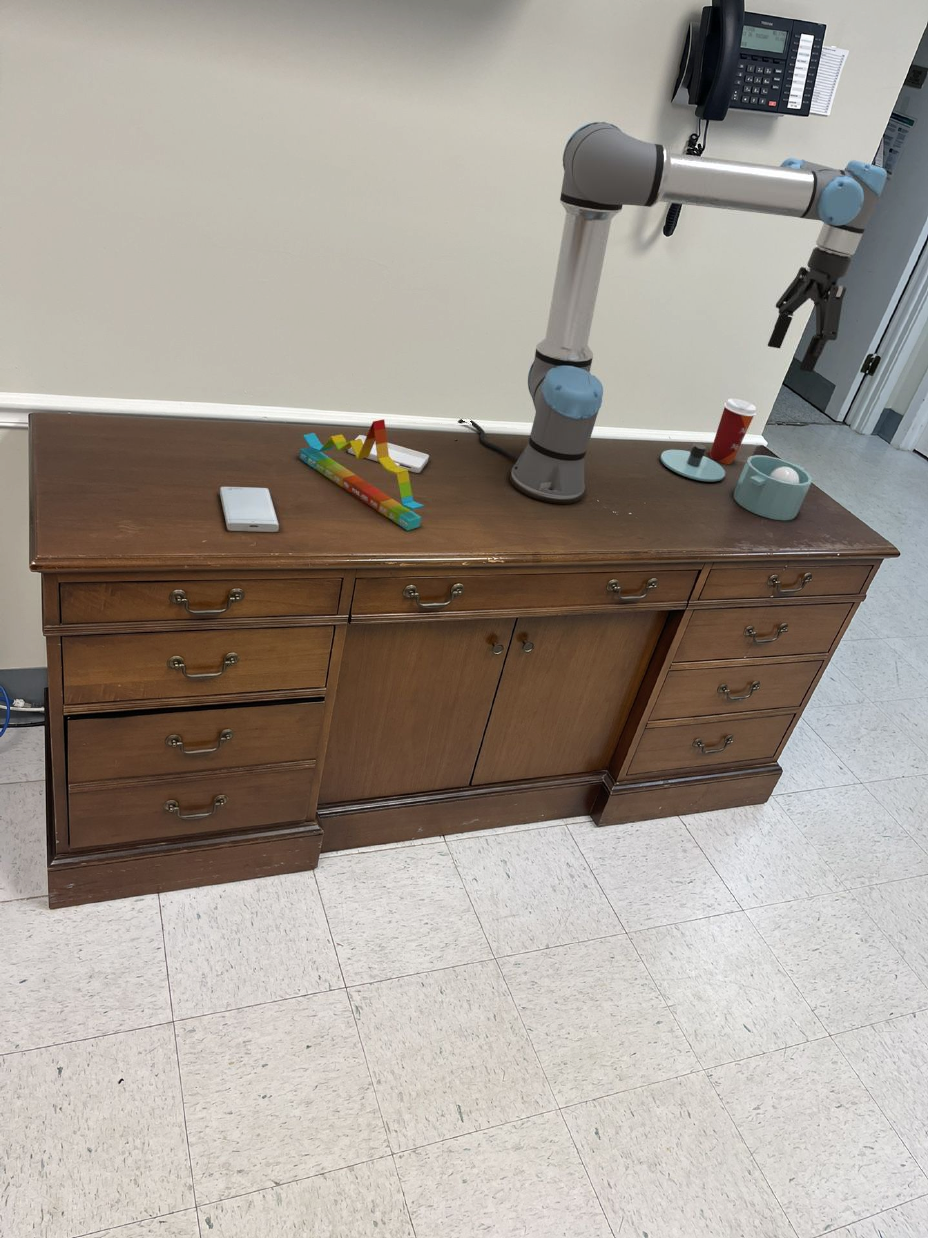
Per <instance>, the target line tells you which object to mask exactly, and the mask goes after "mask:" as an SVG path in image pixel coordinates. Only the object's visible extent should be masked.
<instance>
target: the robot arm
mask: <svg viewBox="0 0 928 1238" xmlns="http://www.w3.org/2000/svg"><path fill="white" fill-rule="evenodd" d="M562 167H563V172H564V173H563V178H562V185H561V191H560V197H559V203H560V204H561V205H562V207H563V209H564V210H565V216H564V217H565V218H564V224H563V230H562V234H561V242H560V249H559V252H558V253H559V254H558V260H557V264H556V265H557V266H556V272H555V278H554V283H553V290H552V294H551V295H552V296H551V302H550V308H549V313H548V320H547V324H546V325H547V326H546V333H545V337H544V339H542V340H541V341H539V342H538V343H537V344H536V347H535V353H534V359H533V361H532V363H531V365H530V368H529V370H528V374H527V388H528V392H529V394H530V397H531V400H532V402H533V407H534V410H535V414H534V419H533V422H532V426H531V430H530V434H529V437H528V442H527V445H526V447H525V448H524V449H523V451H522V452H521V454H520V455H519V456H517V455H516V454H514V453H512V452H511V451H509V450H507V449H505V448H503V447H501V446H498V445H497V444H494V443H493V442H490V441H488V440H487V439H486V438H485V436H486V432H485V429H483V428H482V427H481V426H480V425H479V424H478V423H477V422H476V421H474V420H472V419H470V420H471V421H470V422H471V423H472V425H471V424H469V425H470V426H472V427H473V428H474V429H475V430H476V431H477V432H478V433H480V435H479V440H480V442H481V443H482V444H483V445H484V446H486V447H488V448H490V449H493V450H495V451H496V452H497V451H498V452H499V453H501V454H503V455H504V456H507V457H508V458H510V459H512V460H513V461H515V463H514V465H513V466H512V468H511V472H510V476H509V481H510V483H511V485H512V486H513V487H514V488H515V489H516V490H518V491H519V492H520V493H522V494H524V495H526V496H527V497H530V498H532V499H534V500H538V501H540V502H544V503H549V504H558V505H568V504H574V503H577V502H579V501H581V499H582V498H583V496H584V494H585V490H586V484H585V483H586V482H585V457H586V453H587V450H588V448H589V444H590V441H591V438H592V435H593V430H594V428H595V424H596V421H597V417H598V414H599V411H600V409H601V407H602V403H603V396H604V386H603V383H602V382H601V381H600V379H599V378H598V377H597V376H596V375H594V374H592V373H591V370H592V369H591V368H592V363H593V358H594V353H593V351H592V350H591V348H590V347H589V345H588V344H589V338H590V334H591V328H592V324H593V318H594V312H595V307H596V302H597V297H598V292H599V287H600V281H601V276H602V270H603V266H604V260H605V254H606V249H607V245H608V241H609V240H608V239H609V233H610V231H611V230H610V229H611V225H612V220H613V218H614V217H615V216H617V215H618V214H620V213H621V211H622V210H623V206H624V205H625V206H637V207H648V208H653V207H655V206H656V205H657V204H658V203H659V202H662V203H671V204H679V205H687V206H688V205H689V206H697V207H704V208H713V209H721V210H722V209H723V210H730V211H739V212H748V213H755V214H756V213H757V214H765V215H773V216H782V217H791V218H798V219H804V220H813V221H819V222H822V223H823V224H822V227H821V229H820V231H819V234H818V236H817V238H816V240H815V244H816V245H817V246H816V247H814V248H813V249H812V252H811V254H810V257H809V259H808V261H807V264H806V266H807V267H805V266H801V267H800V268H799V269H798V272H797V274H796V276H795V277H794V279H793V280H792V281H791V283H790V284H789V285H788V287H787V288H786V289H785V291H784V292H783V293H782V295H781V296H780V298H779V299H778V300H777V302H776V304H775V308H776V309H778V317H777V319H776V322H775V324H774V328H773V331H772V333H771V336H770V338H769V340H768V342H767V345H766V346H767V347H769V348H774V349H781V347H782V345H783V342H784V341H785V337H786V335H787V334H788V333H787V332H788V330H789V328H790V325H791V323H792V320H793V317H794V313H795V312H796V311H797V310H798V309H799V308H800V307H801V306H802V305H804V304H805V303H806V302H807V301H809V299H810V300H811V301H812V302H813V305H814V306H815V334H814V335H813V336H812V337H811V339H810V342H809V344H808V346H807V348H806V352H805V354H804V355H803V358H802V360H801V363H800V365H799V367H798V369H799V370H800V371H804V372H809V373H810V372H811V373H813V372H814V370H815V367H816V365H817V363H818V360H819V358H820V357H821V356H822V353H823V351H824V349H825V346H826V344H827V342H828V341H836V340H837V338H838V332H839V325H840V319H841V313H842V308H843V307H842V306H843V301H844V297H845V294H846V292H847V286H842V285H838V281H839V279H840V278H844V277H845V276H847V272H848V271H849V268H850V267H851V263H852V261H853V259H852V257H851V256H853V255H855V253H856V251H857V249H858V246H859V245H860V241H861V239H862V237H863V234H865V233H864V232H865V230H866V228H867V225H868V223H869V221H870V219H871V217H872V214H873V212H874V210H875V208H876V205H877V203H878V201H879V199H880V198H881V194H882V192H883V189H884V186H885V184H886V180H887V177H888V172H887V170H886V169H885V168H883V167H881V166H877V165H875V164H870V163H867V162H863V161H858V160H854V159H853V160H852V159H851V160H850V161H849V162H848V163H847V165H846V167H845V168H844V169H840V168H839V169H837V168H832V167H830V166H826V165H822V164H818V163H814V162H811V161H807V160H805V159H797V158H792V157H790V158H787V159H785V160H784V161H782V162H781V164H780V165H778V166H777V165H770V164H762V163H754V162H746V161H739V160H731V159H730V160H729V159H722V158H714V157H707V156H699V155H692V154H684V153H676V152H669V151H668V149H667V148H666V146H665V145H664V144H660V143H659V144H658V143H651V142H647V141H643V140H641V139H637V138H635V137H633V136H631V135H629V134H627V133H625V132H624V131H622V130H621V129H620V128H619V127H618V126H617V125H614V124H613V123H608V122H605V121H593V122H588V123H586V124H584V125H582V126H580V127H579V128H577V129H576V130H575V131H574V132H573V133H572V134H571V135H570V137H569V139H568V140H567V142H566V144H565V146H564V150H563V155H562ZM462 419H463V418H460V419H459V420H458V421H457V424H459V425H460V424H461V425H462V424H465V423H466V424H468V423H467V422H465V421H463V420H462Z"/></svg>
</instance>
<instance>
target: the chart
mask: <svg viewBox="0 0 928 1238" xmlns="http://www.w3.org/2000/svg"><path fill="white" fill-rule="evenodd" d="M366 436H367V437H366V439H365V442H364V444H363V442H362V440H361V439H357V440H355V439H353V440H349V441H347V440H346V438H345V437H344V435H343V434H336V435H331V436H330V437H329V438H328V439H327V440H326V442H325V443H324V444H322V442H321V441H320V439H319V438H318V436H317V435H316V433H315V432H311V433H307V434H303V435H302V437H303V439H304V441H305V442H306V444H307V445H308V447H305V448H300V449H299V458H298V459H299V460H301V461H302V462H304V463H305V464H307V465H308V466H310V467H312V468H313V469H314V470H316V471H318V472H319V473H321V474H322V475H324V476H325V477H327V478H328V479H329V480H331V481H332V482H333V483H335V484H337V485H339V486H340V487H342V489H345V490H346V491H347V492H349V493H350V494H352V495H353V496H355V497H356V498H358V499H359V500H361V501H362V502H364V503H365V504H367V506H370V507H371V508H373V509H374V510H376V511H377V512H379V513H380V514H382V515H383V516H385V517H386V518H388V519H389V520H390V521H392V522H394V523H395V524H397V525H399V526H400V527H402V529H405V530H406V531H411V530H413V529H417V528H419V527H420V525H421V521H422V516H420V515H419V514H417V513H415V512H414V511H415V510H419V509H422V508H424V504H421V503H420V502H417V501H414V498H413V492H412V487H411V481H410V475H409V471H408V470H406V469H403V468H401V467H398V466H397V465H396V464H395V462H394V461H393V460H392V459H391V458H390V457H389V453H388V445H387V443H388V439H387V438H388V437H387V429H386V422H385V419H379V420H378V419H377V420H374V421H372V423H371V425H370V428H369V430H368V432H367V435H366ZM374 443H376V451H377V458H378V461H379V462H378V461H377V462H378V463H379V464H380V465H381V466H382V468H383V469H384V470H385V471H386V472H388V473H391V474H394V475H396V479H397V484H398V485H397V486H398V490H399V491H398V492H399V497H400V502H401V503H400V502H398V501H397V500H395V499H394V498H392V497H391V496H389V495H387V494H386V493H384V492H383V491H381V490H380V489H378V488H377V487H375V486H374V485H372V484H371V483H369V482H368V481H366V480H364V479H363V478H361V476H358V475H357V474H355V473H354V472H352V471H351V470H349V469H347V468H346V467H345V466H343V465H341V464H340V463H338V462H337V461H336V460H334V459H332V458H331V457H329V456H328V455H326V454H325V453H323V452H326V451H330V450H332V449H333V447H334V446H335V448H336V450H337V451H338V452H341V451H348V449H350V448H351V447H352V449H353V451H354V454H355V455H354V454H353V455H354V456H355V458H356V460H362V459H367V457H369V454H370V452H371V450H372V447H373V445H374Z"/></svg>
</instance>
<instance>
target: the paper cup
mask: <svg viewBox="0 0 928 1238" xmlns="http://www.w3.org/2000/svg"><path fill="white" fill-rule="evenodd" d="M723 407H724V408H723V411H722V414H721V418H720V421H719V424H718V427H717V430H716V433H715V437H714V440H713V443H712V446H711V449H710V453H709V457H710V459H711V460H713V461H715V462H716V463H720V464H726V465H729V464H732V463H733V461H734V460H735V458H736V455H737V453H738V451H739V449H740V447H741V445H742V443H743V440H744V438H745V436H746V434H747V432H748V429H749V428H750V426H751V424H752V421H753V419H754V417H755V416H756V415H757V407H756V406H755V405H754V404H752V403H751V402H749V401H746V400H743V399H740V398H728V399H727V400H726V402H724V404H723Z"/></svg>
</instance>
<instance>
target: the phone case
mask: <svg viewBox="0 0 928 1238" xmlns="http://www.w3.org/2000/svg"><path fill="white" fill-rule="evenodd" d="M366 437H367V435H363V434H359V435H358V436H357V437H356V438H355V439H354V440H357V439H361V440H362V442H363V444H364V442H365V439H366ZM387 445H388V453H389V457H390V458H391V459H392V460H393V461H394V462H395V464H396V465H397V466H398V467H401V468H403V469H406V470H408V472H412V473H415V474H420V473H421V472H422V471H423V469H424V467H426V465H427V464H428V463H429V460H430V459H429V458H430V455H429V454H428V453H424V452H422V451H417V450H415V449H410V448H407V447H404V446H400V445H398V444H393V443H390V442H387ZM347 453H349V454H350V455H354V456H355V454H354V451H353V449H352V447H351V448H350V449H347ZM366 459H367V460H370V461H371V460H372V461H375V462H377V463H380V462H379V461H378V458H377V451H376V443H374V445H373V447H372V450H371V452H370V454H369V457H367V458H366Z"/></svg>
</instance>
